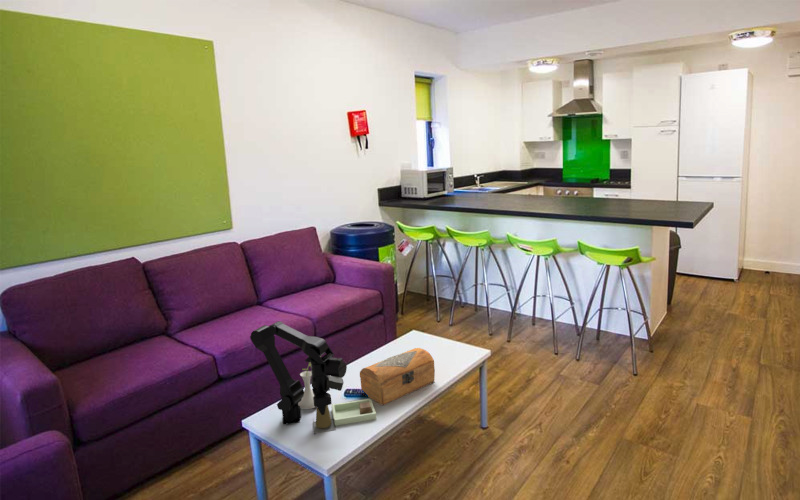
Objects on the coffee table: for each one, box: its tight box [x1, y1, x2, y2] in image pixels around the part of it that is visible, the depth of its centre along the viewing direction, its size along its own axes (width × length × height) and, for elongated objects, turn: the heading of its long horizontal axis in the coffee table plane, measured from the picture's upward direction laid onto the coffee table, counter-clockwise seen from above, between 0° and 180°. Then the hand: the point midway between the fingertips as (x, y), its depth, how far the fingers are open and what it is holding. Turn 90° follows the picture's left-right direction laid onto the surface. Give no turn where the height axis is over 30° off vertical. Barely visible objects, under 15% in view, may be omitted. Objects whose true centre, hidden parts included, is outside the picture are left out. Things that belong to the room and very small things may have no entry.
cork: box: [315, 405, 332, 428], centre depth 190 cm, size 6×6×11 cm
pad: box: [312, 418, 337, 435], centre depth 191 cm, size 8×8×1 cm
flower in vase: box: [298, 355, 322, 410], centre depth 206 cm, size 13×11×25 cm
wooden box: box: [359, 347, 436, 406], centre depth 217 cm, size 30×16×14 cm, turn 129°
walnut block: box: [359, 402, 371, 415], centre depth 197 cm, size 4×4×4 cm
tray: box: [331, 398, 377, 427], centre depth 198 cm, size 16×12×3 cm
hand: (322, 411), depth 190 cm, fingers closed on cork, 5 cm apart
